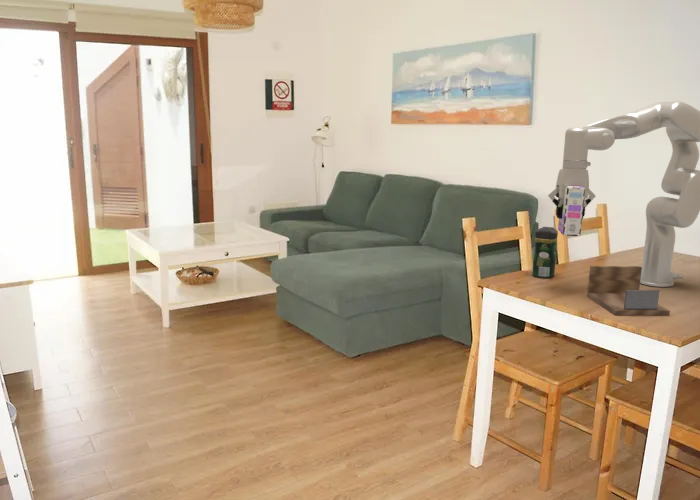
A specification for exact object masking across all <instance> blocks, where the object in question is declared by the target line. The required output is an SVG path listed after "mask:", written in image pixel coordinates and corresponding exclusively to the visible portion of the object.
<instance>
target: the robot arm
mask: <svg viewBox="0 0 700 500" xmlns="http://www.w3.org/2000/svg"><path fill="white" fill-rule="evenodd" d="M661 128H665V132H666V135H667V137H668V139H669V141H670V143H671V147H672V148H671V149H672V153H671V157H670V159H669V162H668V165H667V168H666V169H665V172H664V175H663V177H662V180H661V185H660V186H661V189H662V191H663V192H664V193H666V194H668V195H669V194H670V195H673V196H674V195H675V196H679V198H674V197H668V196H657V197H653V198H652V199H650V200H649V201H648V203H647V204H646V209H645V218H646V232H645V240H644V247H643V248H644V250H643V255H642V256H643V257H642V263H641V267H642V271H641V279H640V285H641V284H642V285H645V286H649V287H650V286H651V287H657V288H669V287H673V286H674V285H675V281H674V280H676V279H677V280H678V279H679V280H681V279H684V277H685V276H684V274H683V273H676V272H673V271H672V266H673V259H674V258H673V257H674V252H675V250H674V249H675V244H676V230H675V228H680V229H681V228H682V229H685V228H689V227H691V226H692V225H693V224H694V223H695V221H696V220H697V218H698V216H699V213H700V170H698V169H696V168H697V165H698V163H699V159H700V150H699V147H698V144H697V143H700V110H699V109H697V108H695V107H694V106H692V105H690V104H688V103H686V102H683V101H678V100H675V101H659V102H656V103H653V104H651V105H648V106H645V107H642V108H640V109H637V110H634V111H631V112H628V113H625V114H621V115H618V116H614V117H610V118H607V119H606V118H605V119H602V120H600V121H596V122H593V123H590V124H587V125H585V126H583V127H571V128H570V127H569V128H567V129H566V130H565V134H564V147H563V157H562V168H560V169H559V172H558V174H557V179H556V183H555V189H553V190H552V191H551V192H550V193H549V194H548V195H547V197H548V198H549V199H550V200H551V202H552V203H553V204H554V205H555V206H556V210H555V215H556V218H557V219H558V220H559V219H562V213H563V207H562V204H563V201H564V195H565V188H566V186H582V187H584V188H585V194H584V204H583V213H582V220H584V217H585V213H586V208H587V206H588V205H589V204H590V203H592V201H593V200H594V199H595V198H596V194H594V192H593V191H592V190H591V189H590V176H589V175H590V174H589V170H588V169H587V168H588V167H591V161H588V154H589V153H588V152H589V150H590V151H606V150H608V149H610V148H611V147H612V146H613V145H614V143H615V140H626V139H627V140H628V139H632V138H634V139H635V138H637V137H640V136H643V135H646V134H648V133H651V132H653V131H656V130H659V129H661Z"/></svg>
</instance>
